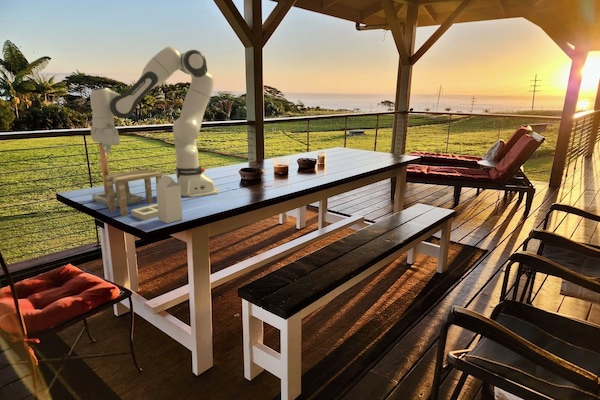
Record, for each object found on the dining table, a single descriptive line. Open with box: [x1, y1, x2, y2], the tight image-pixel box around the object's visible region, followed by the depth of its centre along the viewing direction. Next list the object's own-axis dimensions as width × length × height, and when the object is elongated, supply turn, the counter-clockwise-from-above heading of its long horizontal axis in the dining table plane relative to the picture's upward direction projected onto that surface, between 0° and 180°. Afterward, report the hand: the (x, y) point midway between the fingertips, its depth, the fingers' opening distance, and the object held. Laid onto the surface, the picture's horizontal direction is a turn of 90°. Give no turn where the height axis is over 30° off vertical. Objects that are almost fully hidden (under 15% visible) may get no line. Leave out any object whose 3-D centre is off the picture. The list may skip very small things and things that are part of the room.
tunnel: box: [105, 168, 164, 217], centre depth 175 cm, size 13×20×16 cm, turn 142°
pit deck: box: [130, 203, 159, 221], centre depth 170 cm, size 10×14×2 cm
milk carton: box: [155, 174, 183, 224], centre depth 161 cm, size 7×7×19 cm
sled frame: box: [91, 143, 143, 208], centre depth 184 cm, size 20×14×28 cm
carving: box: [114, 181, 131, 201], centre depth 183 cm, size 6×8×12 cm
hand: (107, 152), depth 184 cm, fingers closed
